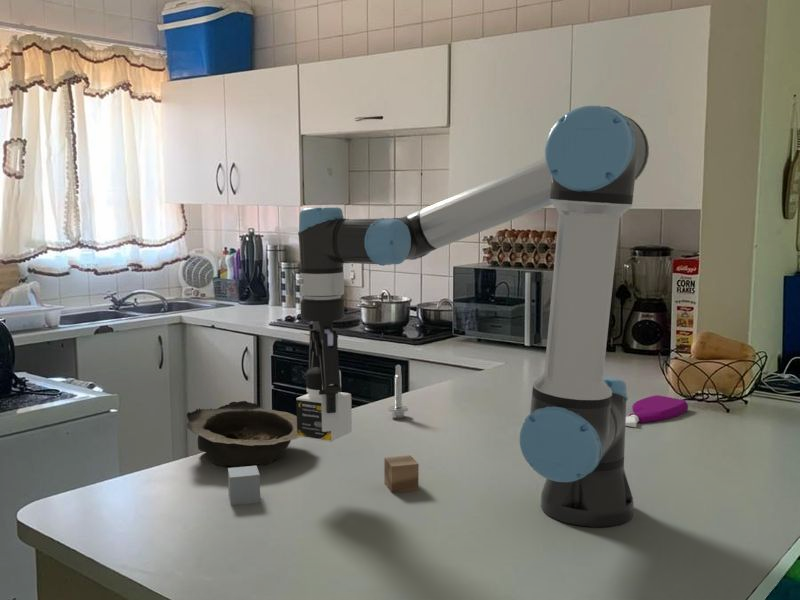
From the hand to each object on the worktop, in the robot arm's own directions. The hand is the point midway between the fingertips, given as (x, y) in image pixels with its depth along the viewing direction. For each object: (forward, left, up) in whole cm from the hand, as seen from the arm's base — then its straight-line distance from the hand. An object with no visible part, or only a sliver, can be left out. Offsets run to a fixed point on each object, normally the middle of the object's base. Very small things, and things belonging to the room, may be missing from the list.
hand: (324, 422), depth 139 cm
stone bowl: (+25, +11, -13) cm, 31 cm away
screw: (+45, -26, -13) cm, 53 cm away
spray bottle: (+29, -85, -14) cm, 91 cm away
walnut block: (-1, -14, -13) cm, 19 cm away
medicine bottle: (0, 0, -2) cm, 2 cm away
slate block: (+1, +14, -13) cm, 19 cm away
